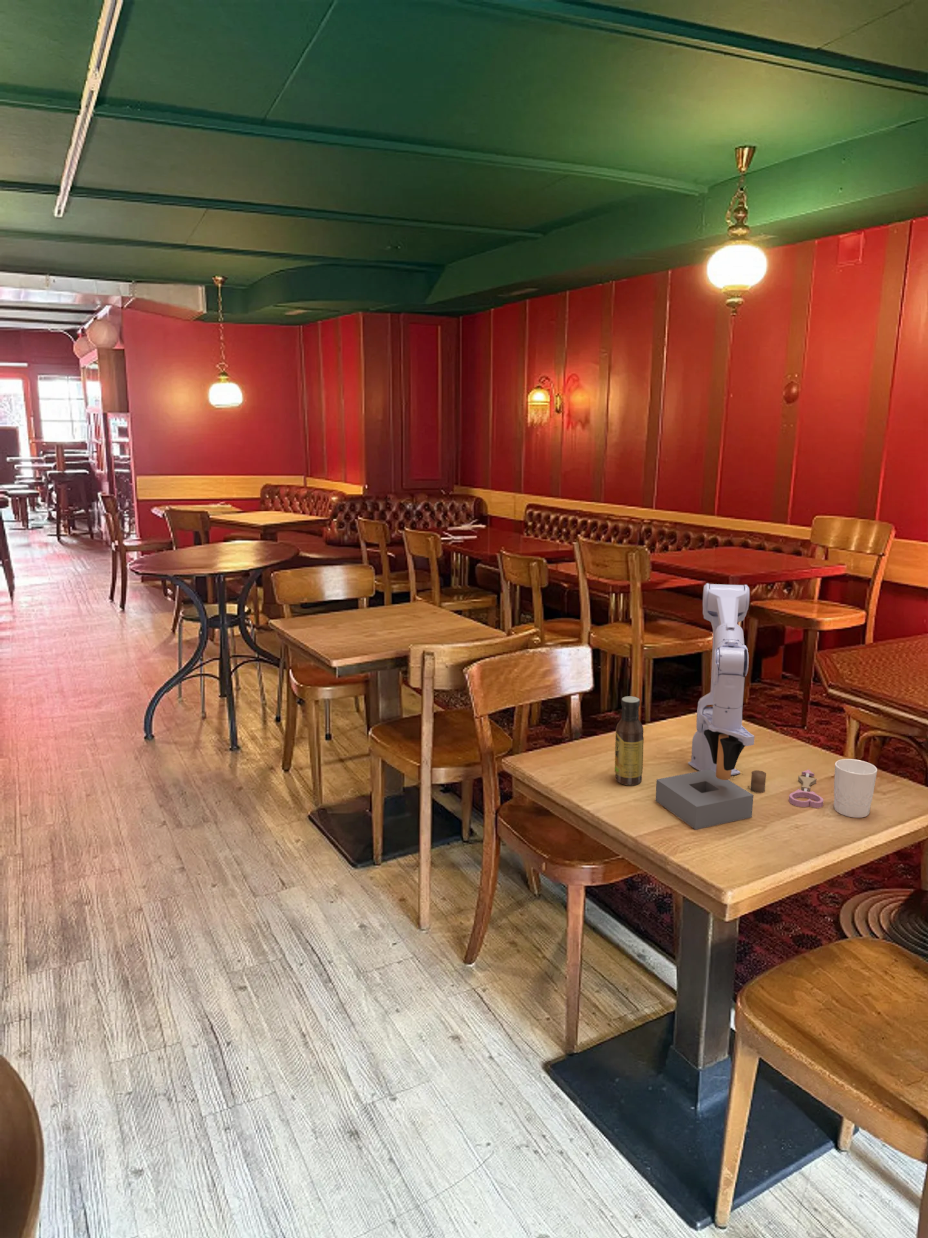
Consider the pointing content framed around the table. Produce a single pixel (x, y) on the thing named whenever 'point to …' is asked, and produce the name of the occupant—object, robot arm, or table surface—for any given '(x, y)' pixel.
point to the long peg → (721, 761)
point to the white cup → (853, 787)
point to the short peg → (758, 781)
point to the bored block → (704, 799)
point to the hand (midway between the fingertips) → (723, 766)
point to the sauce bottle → (629, 744)
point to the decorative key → (806, 792)
